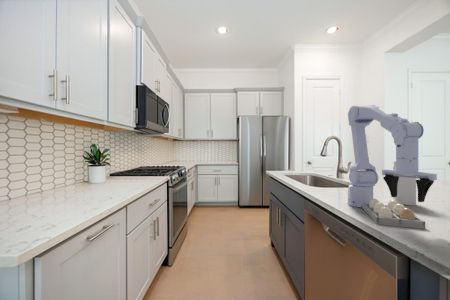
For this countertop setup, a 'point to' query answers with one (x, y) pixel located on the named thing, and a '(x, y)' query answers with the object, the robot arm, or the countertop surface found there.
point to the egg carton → (393, 219)
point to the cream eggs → (386, 208)
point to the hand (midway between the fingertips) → (406, 199)
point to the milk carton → (406, 190)
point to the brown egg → (407, 214)
